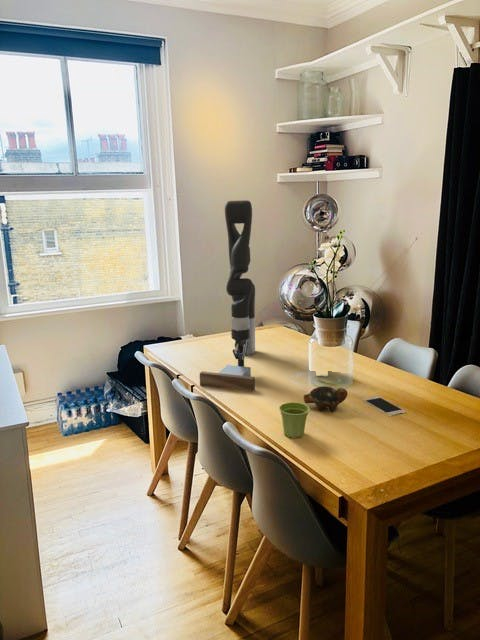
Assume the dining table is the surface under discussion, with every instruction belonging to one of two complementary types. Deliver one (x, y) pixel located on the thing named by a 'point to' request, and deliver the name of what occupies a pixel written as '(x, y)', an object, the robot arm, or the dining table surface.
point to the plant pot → (294, 418)
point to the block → (236, 370)
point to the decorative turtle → (326, 397)
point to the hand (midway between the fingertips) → (241, 367)
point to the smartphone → (383, 405)
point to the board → (227, 381)
